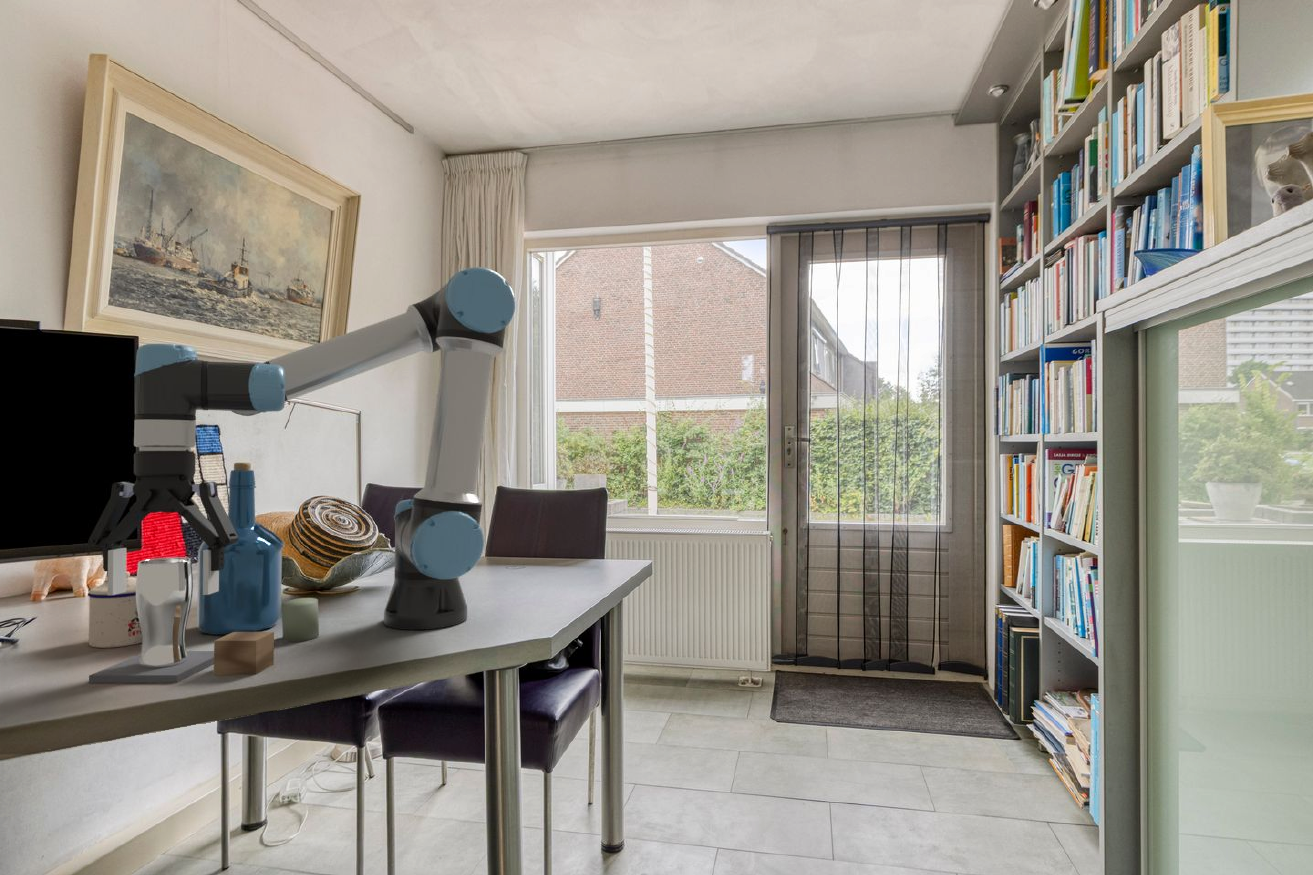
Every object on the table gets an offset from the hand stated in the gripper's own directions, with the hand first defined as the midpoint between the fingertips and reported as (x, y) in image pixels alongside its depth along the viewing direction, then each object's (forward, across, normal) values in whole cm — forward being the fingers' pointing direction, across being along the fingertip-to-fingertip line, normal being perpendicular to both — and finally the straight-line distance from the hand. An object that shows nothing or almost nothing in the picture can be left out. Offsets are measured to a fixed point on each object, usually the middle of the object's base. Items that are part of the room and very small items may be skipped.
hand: (163, 593), depth 106 cm
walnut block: (+11, -12, 0) cm, 16 cm away
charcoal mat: (+11, 0, 0) cm, 11 cm away
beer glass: (+10, 0, 0) cm, 10 cm away
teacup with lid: (+11, +17, -17) cm, 27 cm away
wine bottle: (+11, +2, -25) cm, 27 cm away
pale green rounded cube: (+11, -12, -18) cm, 24 cm away
